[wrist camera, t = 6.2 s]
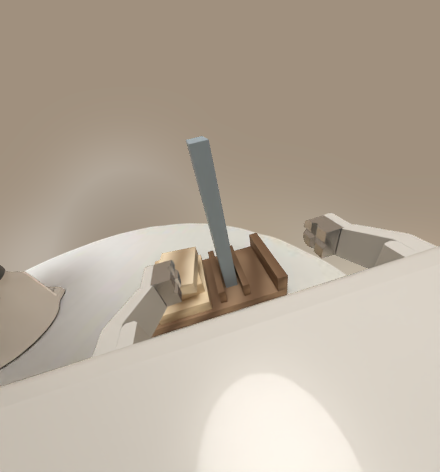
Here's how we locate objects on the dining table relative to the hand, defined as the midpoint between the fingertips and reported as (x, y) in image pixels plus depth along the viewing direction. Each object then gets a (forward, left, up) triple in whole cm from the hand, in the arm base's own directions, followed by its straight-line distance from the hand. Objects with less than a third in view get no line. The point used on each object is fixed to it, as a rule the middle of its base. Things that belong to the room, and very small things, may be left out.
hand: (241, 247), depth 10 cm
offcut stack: (-14, +8, -17) cm, 23 cm away
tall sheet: (-7, +12, -17) cm, 22 cm away
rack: (-10, +10, -19) cm, 23 cm away
